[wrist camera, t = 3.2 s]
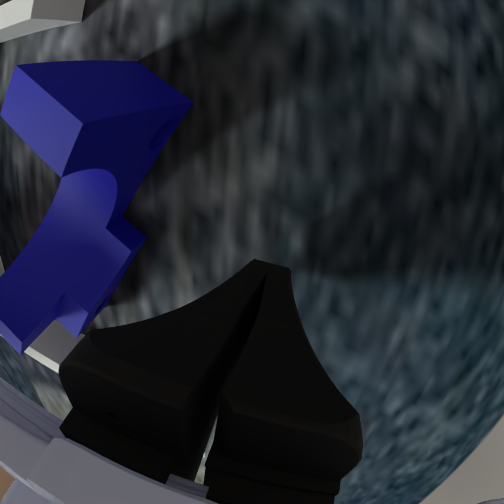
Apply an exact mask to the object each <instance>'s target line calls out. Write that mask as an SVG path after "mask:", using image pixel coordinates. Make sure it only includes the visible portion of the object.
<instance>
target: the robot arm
mask: <svg viewBox="0 0 504 504" xmlns="http://www.w3.org/2000/svg"><path fill="white" fill-rule="evenodd" d="M58 372H59V377H60V380H61V383H62V385H63V388H64V390H65V392H66V394H67V396H68V398H69V400H70V402H71V404H72V407H73V408H72V410H71V411H70V412H69V414H68V415H67V417H66V418H65V419H64V421H63V420H61V419H59V418H58V417H56V416H55V415H53V414H51V413H50V412H48V411H47V410H45V409H44V408H42V407H41V406H39V405H38V404H36V403H35V402H33V401H32V400H30V399H29V398H28V397H26V396H25V395H23V394H22V393H21V392H19V391H18V390H17V389H15V388H14V387H13V386H11V385H10V384H9V383H7V382H6V381H5V380H3V379H2V378H1V377H0V466H1V467H2V468H3V469H4V470H5V471H6V472H8V473H9V474H10V475H11V476H13V477H14V478H15V480H14V482H13V483H12V485H11V486H10V488H9V489H8V491H7V492H6V494H5V495H4V497H3V499H2V500H1V502H0V504H334V498H335V495H337V494H338V493H339V490H340V481H341V479H342V478H343V477H344V476H345V475H347V474H348V473H349V472H350V471H351V470H352V469H353V468H354V467H356V466H357V464H358V463H359V462H360V460H361V459H362V450H363V438H362V429H361V422H360V416H359V413H358V412H357V411H356V410H355V409H354V408H353V406H352V405H351V404H350V403H349V402H348V401H347V400H346V398H345V397H344V396H343V395H342V394H341V393H340V392H339V390H338V389H337V388H336V386H335V385H334V384H333V382H332V381H331V380H330V378H329V376H328V375H327V373H326V372H325V370H324V368H323V367H322V365H321V364H320V362H319V360H318V359H317V357H316V355H315V353H314V351H313V349H312V347H311V345H310V343H309V341H308V338H307V336H306V334H305V331H304V329H303V326H302V323H301V320H300V318H299V314H298V311H297V308H296V304H295V300H294V295H293V290H292V284H291V270H290V269H289V268H287V267H283V266H279V265H275V264H272V263H268V262H264V261H260V260H256V259H254V260H252V261H250V262H249V263H248V264H247V265H246V266H245V267H243V268H242V269H241V270H240V271H239V272H237V273H236V274H235V275H234V276H232V277H231V278H229V279H228V280H227V281H225V282H224V283H223V284H221V285H220V286H218V287H217V288H215V289H213V290H212V291H210V292H209V293H207V294H205V295H204V296H202V297H200V298H198V299H197V300H195V301H193V302H191V303H189V304H187V305H185V306H183V307H180V308H178V309H176V310H173V311H170V312H167V313H165V314H162V315H159V316H157V317H154V318H150V319H147V320H143V321H139V322H135V323H131V324H127V325H122V326H116V327H110V328H103V329H97V330H90V331H89V332H88V333H87V334H86V335H85V336H84V337H83V338H82V339H81V340H80V341H79V342H78V344H77V345H76V346H75V347H74V348H73V350H72V351H71V352H70V353H69V354H68V356H67V357H66V358H65V359H64V360H63V362H62V363H61V364H60V365H59V371H58ZM217 416H218V417H217ZM216 418H217V423H216V429H215V435H214V441H213V444H212V447H211V449H210V452H209V454H208V457H207V460H206V462H205V467H206V468H205V476H204V484H203V485H202V484H199V483H196V482H194V480H195V478H196V475H197V472H198V469H199V466H200V463H201V460H202V458H203V455H204V452H205V449H206V446H207V444H208V441H209V438H210V435H211V432H212V430H213V427H214V424H215V421H216ZM479 504H504V498H501V499H495V500H489V501H485V502H481V503H479Z"/></svg>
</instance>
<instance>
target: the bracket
mask: <svg viewBox="0 0 504 504" xmlns="http://www.w3.org/2000/svg"><path fill="white" fill-rule="evenodd" d="M84 4H85V0H12V1H10V2H7V3H5V4H3V5H1V6H0V43H2V42H5V41H8V40H11V39H14V38H18V37H21V36H24V35H28V34H31V33H35V32H39V31H43V30H47V29H51V28H55V27H60V26H64V25H69V24H74V23H79V22H81V21H82V15H83V10H84ZM4 272H5V271H4V267H3V263H2V260H1V256H0V277H1V275H2V274H3V273H4ZM0 336H2V335H1V334H0ZM84 336H85V335H84V334H82V333H81V334H80V335H79V336H78V337H77V338H76V337H75V336H74V335H73V334H72V333H71V332H69V331H68V330H67V329H66V328H65V327H64V326H63V325H62V324H61V323H60V322H58V321H56V320H54V321H53V322H52V323H51V324H50V325H49V326H48V327H47V328H46V329H45V330H44V331H43V332H42V333H41V334H40V335H39V336H38V337H37V338H36V339H35V340H34V341H33V343H32V344H31V345H30V346H29V347H28V348H27V349H26V350H25V351H24V352H25V353H27V354H28V355H30V356H31V357H33V358H34V359H36V360H38V361H39V362H41V363H42V364H44V365H46V366H47V367H49V368H51V369H52V370H54V371H56V372H57V373H59V372H58V371H59V365H60V364H61V363H62V362H63V360H64V359H65V358H66V357H67V356H68V354H69V353H70V352H71V351H72V350H73V348H74V347H75V346H76V345H77V344H78V342H79V341H80V340H81V339H82V338H83V337H84ZM2 337H3V336H2Z"/></svg>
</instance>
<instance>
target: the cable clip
mask: <svg viewBox="0 0 504 504" xmlns="http://www.w3.org/2000/svg"><path fill="white" fill-rule="evenodd" d="M192 104H193V102H192V101H190V100H189V99H188V98H186V97H185V96H184V95H182V94H181V93H180V92H178V91H177V90H176V89H174V88H173V87H172V86H170V85H169V84H168V83H166V82H165V81H164V80H162V79H161V78H159V77H158V76H157V75H155V74H154V73H152V72H151V71H150V70H148V69H147V68H145V67H144V66H143V65H141V64H140V63H138V62H136V61H60V62H44V63H32V64H23V65H16V67H15V70H14V72H13V75H12V78H11V81H10V84H9V87H8V90H7V93H6V96H5V100H4V103H3V107H2V110H1V114H0V116H1V117H2V118H3V119H4V120H5V121H6V122H7V123H8V124H9V125H10V126H11V127H12V129H13V130H14V131H15V132H16V133H17V134H18V135H19V136H20V137H21V138H22V139H23V140H24V141H25V142H26V143H27V144H28V145H29V146H30V147H31V148H32V149H33V150H34V151H35V152H36V154H37V155H38V156H39V157H40V158H41V159H42V160H43V161H44V162H45V163H46V164H47V165H48V166H49V167H50V168H51V169H52V170H53V171H55V172H56V173H57V174H58V175H59V176H60V177H61V178H62V179H61V182H60V185H59V188H58V190H57V193H56V195H55V198H54V200H53V202H52V204H51V206H50V208H49V210H48V212H47V214H46V215H45V217H44V219H43V221H42V222H41V224H40V226H39V227H38V229H37V230H36V232H35V233H34V235H33V236H32V238H31V239H30V241H29V242H28V244H27V245H26V246H25V248H24V249H23V250H22V252H21V253H20V254H19V256H18V257H17V258H16V259H15V261H14V262H13V263H12V264H11V265H10V267H9V268H8V269H7V270H6V271H5V272H4V273H3V274H2V275H1V277H0V334H1V335H2V336H3V338H4V339H5V340H6V341H7V342H8V343H9V344H10V345H11V346H12V347H13V348H14V349H15V350H16V351H17V352H18V353H19V354H20V355H21V354H22V353H23V352H24V351H25V350H26V349H27V348H28V347H29V346H30V345H31V344H32V343H33V341H34V340H35V339H36V338H37V337H38V336H39V335H40V334H41V333H42V332H43V331H44V330H45V329H46V328H47V327H48V326H49V325H50V324H51V323H52V322H53V321H54V320H55V319H57V320H58V321H59V322H60V323H61V324H62V325H63V326H64V327H65V328H66V329H67V330H68V331H69V332H71V333H72V334H73V335H74V336H75V337H76V338H77V337H78V336H79V335H80V334H81V333H82V331H83V330H84V329H85V328H86V327H87V326H88V325H89V324H90V323H91V321H92V320H93V319H94V318H95V317H96V316H97V315H98V314H99V313H100V312H101V311H102V309H103V308H104V307H105V306H106V304H107V302H108V301H109V299H110V297H111V295H112V294H113V292H114V290H115V289H116V287H117V285H118V283H119V282H120V280H121V278H122V277H123V275H124V273H125V272H126V270H127V269H128V267H129V265H130V264H131V262H132V260H133V259H134V257H135V256H136V254H137V252H138V251H139V249H140V248H141V246H142V244H143V243H144V241H145V240H146V238H147V237H146V236H145V235H144V234H142V233H141V232H140V231H139V230H138V229H137V228H135V227H134V226H133V225H132V224H131V223H130V222H129V221H127V220H126V219H125V218H124V217H123V214H124V212H125V210H126V208H127V207H128V205H129V203H130V201H131V200H132V198H133V196H134V194H135V193H136V191H137V189H138V187H139V186H140V184H141V182H142V181H143V179H144V177H145V176H146V174H147V172H148V171H149V169H150V167H151V166H152V164H153V163H154V161H155V159H156V158H157V156H158V155H159V153H160V151H161V150H162V148H163V147H164V145H165V144H166V142H167V141H168V139H169V138H170V136H171V135H172V133H173V132H174V130H175V129H176V127H177V126H178V124H179V123H180V121H181V120H182V118H183V117H184V115H185V114H186V112H187V111H188V110H189V108H190V107H191V105H192Z"/></svg>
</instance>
